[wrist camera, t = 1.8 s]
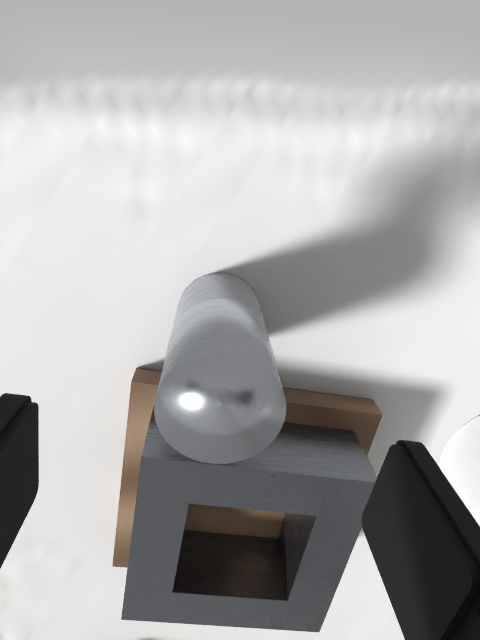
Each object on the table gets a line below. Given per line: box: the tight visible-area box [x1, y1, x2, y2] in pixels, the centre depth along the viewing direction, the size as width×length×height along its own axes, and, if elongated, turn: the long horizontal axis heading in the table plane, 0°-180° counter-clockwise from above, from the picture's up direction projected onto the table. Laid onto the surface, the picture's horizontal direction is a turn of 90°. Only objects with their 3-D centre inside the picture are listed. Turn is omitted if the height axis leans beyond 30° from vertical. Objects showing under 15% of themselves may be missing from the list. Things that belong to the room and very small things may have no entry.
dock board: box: [113, 368, 382, 567], centre depth 26 cm, size 14×14×2 cm
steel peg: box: [154, 273, 286, 464], centre depth 18 cm, size 4×4×9 cm
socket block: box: [121, 407, 377, 632], centre depth 23 cm, size 11×11×4 cm
